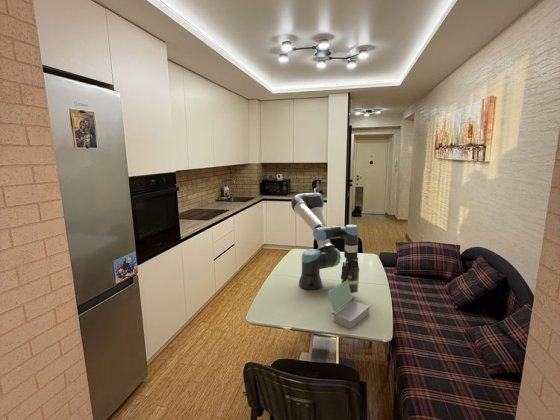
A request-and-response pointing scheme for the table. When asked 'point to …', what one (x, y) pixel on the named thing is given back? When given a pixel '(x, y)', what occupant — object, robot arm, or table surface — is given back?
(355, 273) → the coffee can
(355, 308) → the white lidded box
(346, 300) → the cover
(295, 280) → the table surface
